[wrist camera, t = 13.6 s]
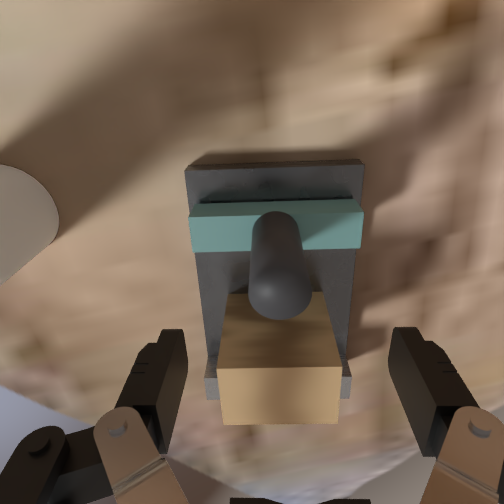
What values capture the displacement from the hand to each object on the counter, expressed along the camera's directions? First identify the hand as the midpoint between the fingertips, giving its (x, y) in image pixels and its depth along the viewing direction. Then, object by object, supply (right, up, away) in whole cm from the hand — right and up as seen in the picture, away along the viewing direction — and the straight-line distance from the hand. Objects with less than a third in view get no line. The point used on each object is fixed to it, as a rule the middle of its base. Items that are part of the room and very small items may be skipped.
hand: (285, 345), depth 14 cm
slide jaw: (0, +6, +12) cm, 13 cm away
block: (+1, -2, +16) cm, 16 cm away
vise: (+1, +2, +16) cm, 16 cm away
